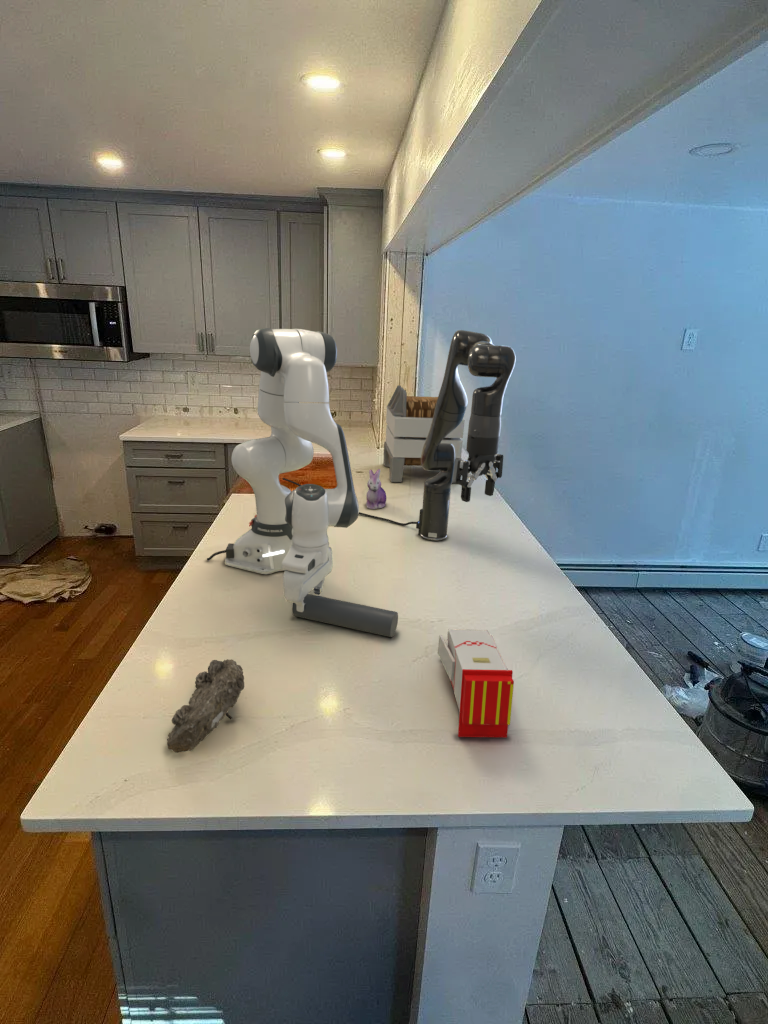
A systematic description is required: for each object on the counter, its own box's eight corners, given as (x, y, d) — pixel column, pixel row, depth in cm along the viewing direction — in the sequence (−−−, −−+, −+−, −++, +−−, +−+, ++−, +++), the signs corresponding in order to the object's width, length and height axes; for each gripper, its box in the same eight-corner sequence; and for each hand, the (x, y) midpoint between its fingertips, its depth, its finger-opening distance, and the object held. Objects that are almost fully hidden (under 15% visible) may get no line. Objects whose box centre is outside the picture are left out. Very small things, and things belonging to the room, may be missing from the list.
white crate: (382, 463, 289) (386, 382, 275) (445, 464, 293) (451, 384, 279) (390, 482, 257) (394, 392, 243) (460, 483, 261) (468, 394, 247)
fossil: (192, 660, 117) (244, 628, 112) (224, 691, 120) (276, 661, 115) (142, 746, 98) (202, 712, 93) (182, 779, 101) (242, 748, 96)
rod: (397, 629, 140) (398, 607, 138) (389, 642, 135) (391, 619, 133) (303, 608, 148) (302, 588, 146) (292, 620, 142) (291, 598, 140)
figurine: (370, 511, 220) (372, 474, 215) (359, 503, 229) (360, 467, 224) (392, 508, 224) (394, 471, 219) (380, 500, 233) (381, 465, 228)
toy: (488, 613, 130) (523, 677, 101) (484, 667, 133) (517, 744, 104) (435, 612, 130) (455, 676, 101) (432, 666, 133) (451, 743, 103)
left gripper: (317, 534, 148) (316, 581, 152) (277, 565, 129) (278, 618, 134) (339, 538, 146) (338, 586, 151) (302, 570, 128) (302, 624, 132)
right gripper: (491, 427, 141) (484, 489, 146) (451, 433, 132) (445, 498, 138) (515, 433, 135) (507, 497, 141) (475, 439, 127) (468, 507, 132)
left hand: (309, 601), depth 142 cm, fingers open, 8 cm apart
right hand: (477, 498), depth 139 cm, fingers open, 8 cm apart
